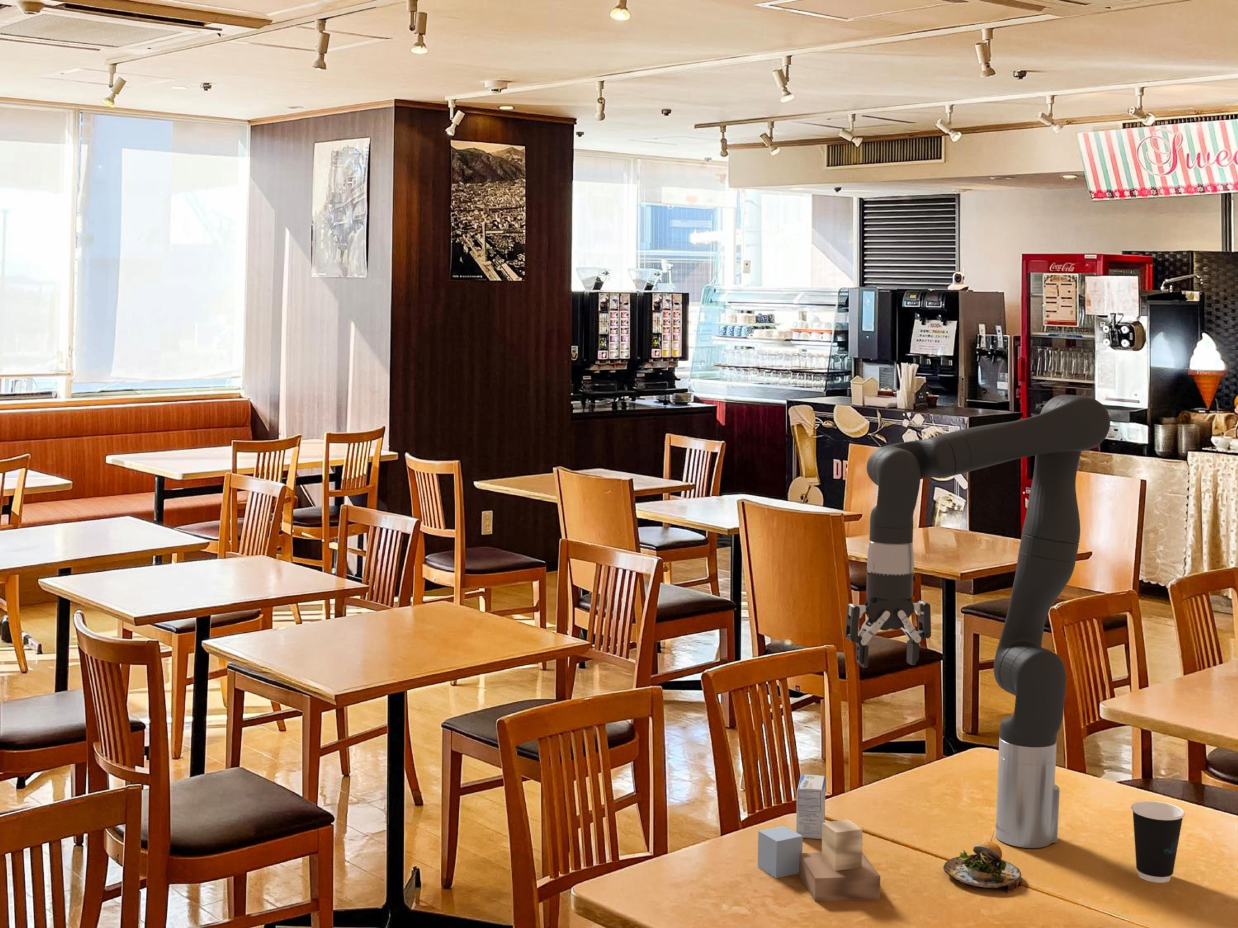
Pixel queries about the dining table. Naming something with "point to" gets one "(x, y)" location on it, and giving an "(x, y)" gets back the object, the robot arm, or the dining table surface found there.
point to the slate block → (779, 851)
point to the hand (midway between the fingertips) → (887, 664)
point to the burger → (984, 868)
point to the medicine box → (810, 806)
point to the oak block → (842, 845)
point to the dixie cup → (1156, 839)
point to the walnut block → (838, 880)
